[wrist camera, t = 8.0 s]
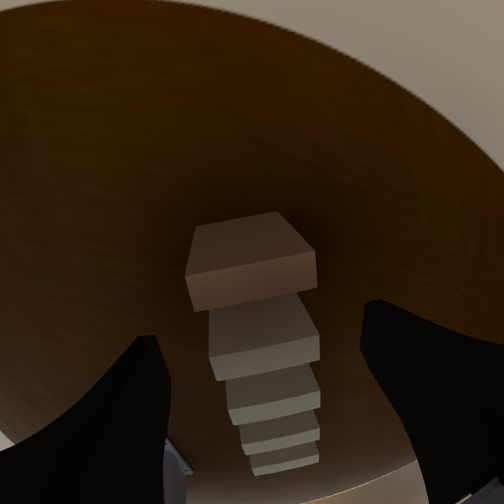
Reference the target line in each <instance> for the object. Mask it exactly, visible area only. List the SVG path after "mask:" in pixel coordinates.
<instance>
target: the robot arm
mask: <svg viewBox="0 0 504 504" xmlns="http://www.w3.org/2000/svg"><path fill="white" fill-rule="evenodd" d="M359 348H360V350H361V352H362V354H363V357H364V359H365V361H366V363H367V365H368V368H369V370H370V371H371V373H372V374H373V376H374V378H375V379H376V381H377V382H378V384H379V385H380V387H381V389H382V390H383V392H384V393H385V395H386V396H387V398H388V400H389V401H390V403H391V404H392V406H393V407H394V409H395V411H396V412H397V414H398V416H399V418H400V419H401V421H402V423H403V425H404V428H405V430H406V432H407V434H408V437H409V439H410V441H411V444H412V447H413V449H414V452H415V454H416V457H417V460H418V463H419V466H420V469H421V472H422V475H423V479H424V483H425V487H426V491H427V495H428V500H429V504H456V503H457V502H459V501H460V500H462V499H463V498H465V497H466V496H468V495H469V494H471V495H472V496H471V497H469V498H468V499H466V500H465V501H464V502H462V503H461V504H504V345H502V344H497V343H492V342H487V341H483V340H479V339H476V338H473V337H469V336H466V335H463V334H460V333H457V332H455V331H452V330H450V329H447V328H444V327H442V326H439V325H437V324H435V323H432V322H430V321H428V320H426V319H424V318H421V317H419V316H417V315H415V314H413V313H411V312H408V311H406V310H404V309H402V308H400V307H398V306H395V305H393V304H391V303H388V302H386V301H383V300H380V299H379V300H375V301H370V302H366V303H365V309H364V318H363V326H362V333H361V340H360V347H359ZM170 404H171V377H170V375H169V372H168V369H167V367H166V364H165V361H164V358H163V356H162V353H161V350H160V347H159V344H158V341H157V338H156V335H149V336H138V337H137V338H136V339H135V341H134V342H133V343H132V344H131V345H130V346H129V347H128V348H127V350H126V351H125V352H124V353H123V354H122V355H121V357H120V358H119V359H118V360H117V361H116V362H115V363H114V364H113V366H112V367H111V368H110V369H109V370H108V371H107V372H106V374H105V375H104V376H103V377H102V378H101V379H100V380H99V381H98V382H97V383H96V384H95V385H94V386H93V387H92V388H91V389H90V390H89V391H88V392H87V393H86V394H85V395H84V396H83V397H82V398H81V399H80V400H79V401H78V402H77V403H76V404H74V405H73V406H72V407H71V408H70V409H68V410H67V411H66V412H65V413H64V414H62V415H61V416H60V417H59V418H57V419H56V420H54V421H53V422H51V423H50V424H49V425H47V426H46V427H44V428H43V429H42V430H40V431H39V432H37V433H35V434H34V435H32V436H30V437H29V438H27V439H25V440H23V441H21V442H20V443H18V444H16V445H14V446H12V447H9V448H7V449H5V450H2V451H0V504H186V475H192V474H193V470H192V469H191V468H190V467H189V465H188V464H187V463H186V462H185V460H184V459H183V458H182V457H181V455H180V454H179V453H178V451H177V450H176V449H175V447H174V446H173V445H172V443H171V442H170V440H169V439H168V438H167V437H166V434H167V427H168V419H169V412H170Z"/></svg>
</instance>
